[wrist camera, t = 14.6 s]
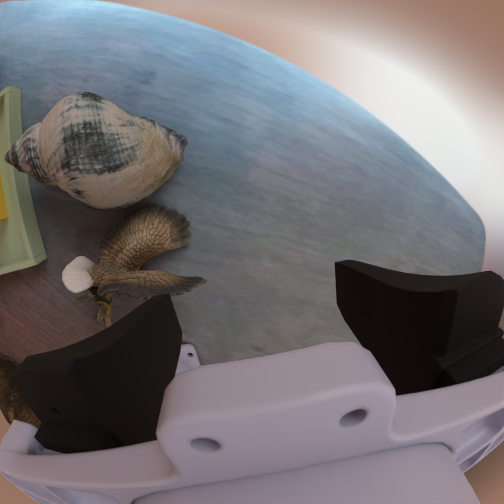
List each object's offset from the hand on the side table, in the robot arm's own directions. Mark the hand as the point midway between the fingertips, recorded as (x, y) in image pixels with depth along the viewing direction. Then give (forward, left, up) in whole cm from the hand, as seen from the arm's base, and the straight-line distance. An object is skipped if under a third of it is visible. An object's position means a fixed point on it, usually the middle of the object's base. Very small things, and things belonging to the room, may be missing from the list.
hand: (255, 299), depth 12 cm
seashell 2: (+9, +9, -10) cm, 16 cm away
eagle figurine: (0, +8, -10) cm, 12 cm away
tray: (+10, +23, -9) cm, 27 cm away
